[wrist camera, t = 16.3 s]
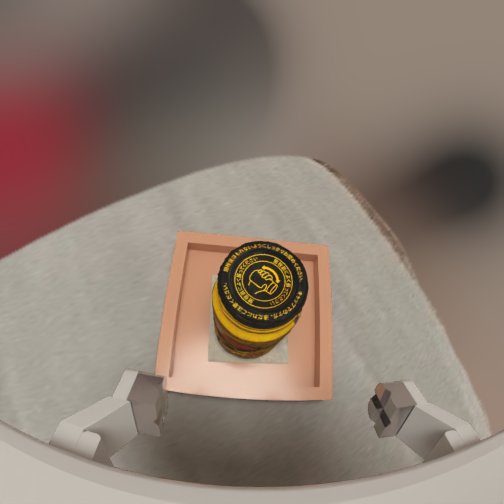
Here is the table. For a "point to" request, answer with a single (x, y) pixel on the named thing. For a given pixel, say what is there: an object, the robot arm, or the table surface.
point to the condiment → (256, 304)
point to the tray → (198, 319)
